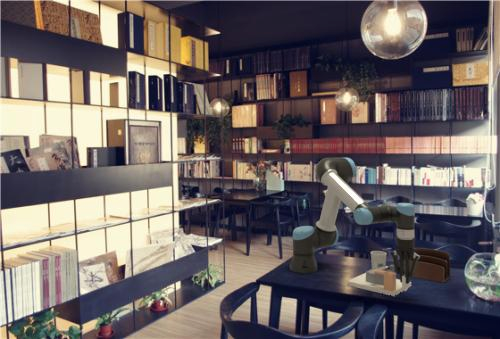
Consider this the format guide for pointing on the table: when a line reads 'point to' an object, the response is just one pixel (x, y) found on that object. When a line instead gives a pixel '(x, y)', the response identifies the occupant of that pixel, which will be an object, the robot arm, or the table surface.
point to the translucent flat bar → (379, 269)
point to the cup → (378, 258)
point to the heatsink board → (374, 286)
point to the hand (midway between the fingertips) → (404, 290)
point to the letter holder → (432, 265)
